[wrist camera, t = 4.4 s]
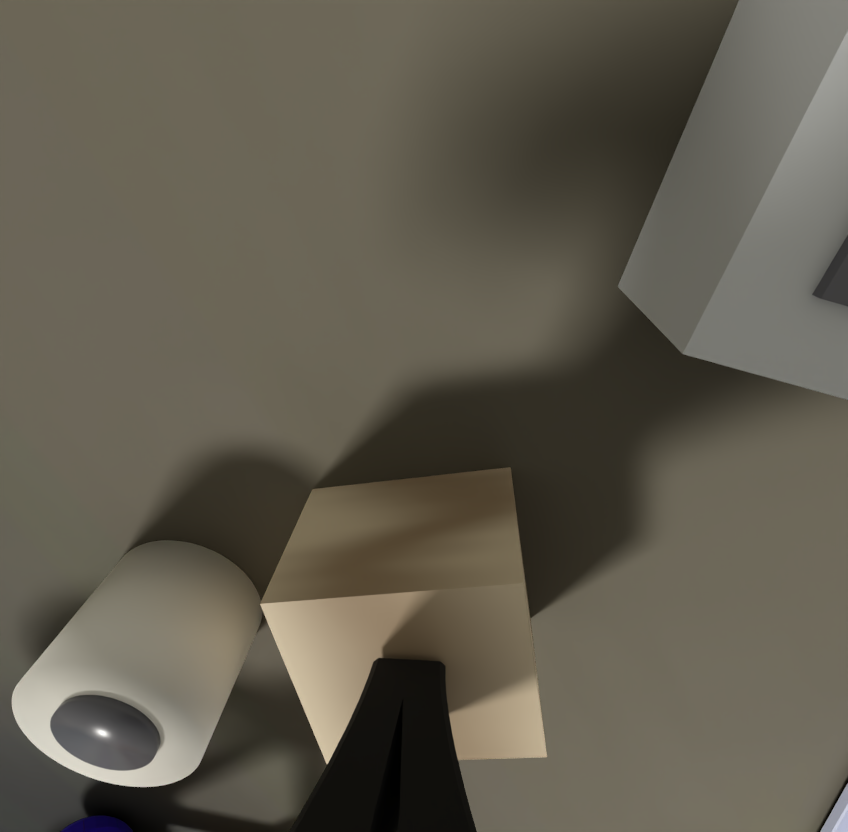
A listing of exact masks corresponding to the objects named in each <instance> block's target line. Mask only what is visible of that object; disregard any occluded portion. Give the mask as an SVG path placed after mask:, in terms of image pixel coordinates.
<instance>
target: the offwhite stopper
mask: <svg viewBox="0 0 848 832" xmlns="http://www.w3.org/2000/svg"><path fill="white" fill-rule="evenodd" d="M260 603H261V600H260V596H259V594H258V592H257V589H256V588H255V586H254V584H253V583H252V581H251V580H250V579H249V578H248V576H247V575H246V574H245V573H244V572H243V571H242V570H241V569H240V568H239V567H238V566H237V565H235V564H234V563H233V562H231V561H230V560H229V559H227V558H225V557H224V556H222V555H221V554H219V553H217V552H215V551H213V550H210V549H208V548H205V547H203V546H200V545H196V544H193V543H188V542H183V541H174V540H161V541H153V542H149V543H145V544H142V545H139V546H137V547H135V548H133V549H132V550H130V551H129V552H127V553H126V554H125V555H124V556H123V557H122V558H121V560H120V561H119V562H118V563H117V564H116V566H115V567H114V568H113V569H112V570H111V572H110V573H109V574H108V575H107V576H106V578H105V579H104V580H103V581H102V582H101V584H100V585H99V586H98V587H97V588H96V590H95V591H94V592H93V593H92V595H91V596H90V597H89V598H88V599H87V601H86V602H85V603H84V604H83V605H82V607H81V608H80V609H79V610H78V611H77V613H76V614H75V615H74V616H73V617H72V619H71V620H70V621H69V622H68V623H67V625H66V626H65V627H64V628H63V629H62V631H61V632H60V633H59V634H58V636H57V637H56V638H55V639H54V640H53V642H52V643H51V644H50V645H49V646H48V648H47V649H46V650H45V651H44V652H43V654H42V655H41V656H40V657H39V658H38V660H37V661H36V662H35V663H34V664H33V666H32V667H31V668H30V669H29V670H28V672H27V673H26V674H25V675H24V676H23V678H22V679H21V680H20V681H19V683H18V684H17V685H16V687H15V689H14V692H13V696H12V709H13V713H14V717H15V719H16V721H17V723H18V725H19V727H20V728H21V730H22V731H23V733H24V734H25V735H26V736H27V738H28V739H29V740H30V741H31V742H32V743H33V744H34V745H35V746H36V747H37V748H39V749H40V750H41V751H42V752H43V753H45V754H46V755H47V756H49V757H50V758H52V759H53V760H55V761H56V762H58V763H60V764H61V765H63V766H65V767H67V768H69V769H71V770H73V771H75V772H77V773H80V774H82V775H85V776H87V777H90V778H93V779H96V780H99V781H103V782H107V783H111V784H116V785H122V786H131V787H155V786H162V785H167V784H171V783H174V782H177V781H179V780H182V779H183V778H185V777H187V776H189V775H190V774H191V773H192V772H193V771H195V769H196V768H197V767H198V766H199V764H200V762H201V760H202V758H203V755H204V753H205V751H206V748H207V746H208V744H209V741H210V739H211V737H212V734H213V732H214V730H215V728H216V725H217V723H218V721H219V718H220V716H221V714H222V711H223V709H224V707H225V704H226V702H227V700H228V698H229V695H230V693H231V691H232V688H233V686H234V684H235V681H236V679H237V677H238V674H239V672H240V670H241V667H242V665H243V663H244V661H245V658H246V656H247V654H248V651H249V649H250V647H251V644H252V642H253V640H254V637H255V635H256V633H257V631H258V628H259V626H260V623H261V619H262V607H261V605H260Z"/></svg>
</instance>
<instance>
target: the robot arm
mask: <svg viewBox="0 0 848 832" xmlns="http://www.w3.org/2000/svg"><path fill="white" fill-rule="evenodd" d="M289 832H477V831H476V828H475V824H474V821H473V818H472V814H471V811H470V807H469V803H468V799H467V796H466V792H465V788H464V784H463V780H462V776H461V771H460V767H459V763H458V758H457V754H456V750H455V745H454V740H453V735H452V729H451V723H450V717H449V711H448V703H447V694H446V666H445V665H444V664H443V663H442V662H441V661H428V660H410V659H392V658H378V659H376V660H375V661H373V664H372V667H371V670H370V673H369V676H368V679H367V681H366V684H365V686H364V689H363V691H362V694H361V696H360V699H359V701H358V703H357V705H356V708H355V710H354V712H353V714H352V716H351V719H350V721H349V723H348V725H347V727H346V729H345V731H344V733H343V735H342V737H341V739H340V741H339V743H338V745H337V747H336V749H335V751H334V753H333V755H332V757H331V759H330V761H329V763H328V765H327V767H326V768H325V770H324V772H323V774H322V776H321V778H320V779H319V781H318V783H317V785H316V786H315V788H314V790H313V792H312V793H311V795H310V797H309V799H308V800H307V802H306V804H305V806H304V807H303V809H302V811H301V812H300V814H299V816H298V818H297V819H296V821H295V823H294V824H293V826H292V828H291V829H290V831H289ZM820 832H848V783H847V785H846V787H845V789H844V790H843V792H842V794H841V796H840V797H839V799H838V801H837V803H836V805H835V806H834V808H833V810H832V812H831V813H830V815H829V817H828V819H827V820H826V822H825V824H824V826H823V828H822V829H821V831H820Z"/></svg>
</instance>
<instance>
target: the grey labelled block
mask: <svg viewBox="0 0 848 832" xmlns="http://www.w3.org/2000/svg"><path fill="white" fill-rule="evenodd" d="M618 287H619V288H620V289H621V291H622V292H623V293H624V294H625V295H626V296H627V297H628V298H629V299H630V300H631V301H632V302H633V303H634V304H635V305H636V306H637V307H638V308H639V309H640V310H641V311H642V312H643V313H644V314H645V315H646V317H647V318H648V319H649V320H650V321H651V322H652V323H653V324H654V325H655V326H656V327H657V328H658V329H659V330H660V331H661V332H662V333H663V334H664V335H665V336H666V337H667V338H668V339H669V340H670V341H671V343H672V344H673V345H674V346H675V347H676V348H677V349H678V350H679V351H680V352H681V353H682V354H684V355H688V356H691V357H695V358H699V359H702V360H706V361H709V362H713V363H717V364H720V365H724V366H728V367H731V368H735V369H738V370H742V371H746V372H749V373H753V374H756V375H760V376H764V377H767V378H771V379H775V380H778V381H782V382H785V383H789V384H793V385H796V386H800V387H803V388H807V389H811V390H814V391H818V392H822V393H825V394H829V395H832V396H836V397H840V398H843V399H847V400H848V0H739V2H738V4H737V6H736V9H735V11H734V14H733V16H732V18H731V21H730V23H729V25H728V28H727V30H726V32H725V35H724V37H723V39H722V42H721V44H720V47H719V49H718V51H717V54H716V56H715V58H714V61H713V63H712V65H711V68H710V70H709V72H708V75H707V77H706V79H705V82H704V84H703V87H702V89H701V91H700V94H699V96H698V98H697V101H696V103H695V105H694V108H693V110H692V112H691V115H690V117H689V120H688V122H687V124H686V127H685V129H684V131H683V134H682V136H681V138H680V141H679V143H678V145H677V148H676V150H675V153H674V155H673V157H672V160H671V162H670V164H669V167H668V169H667V171H666V174H665V176H664V178H663V181H662V183H661V186H660V188H659V190H658V193H657V195H656V197H655V200H654V202H653V204H652V207H651V209H650V211H649V214H648V216H647V219H646V221H645V223H644V226H643V228H642V230H641V233H640V235H639V237H638V240H637V242H636V244H635V247H634V249H633V252H632V254H631V256H630V259H629V261H628V263H627V266H626V268H625V270H624V273H623V275H622V277H621V280H620V282H619V285H618Z"/></svg>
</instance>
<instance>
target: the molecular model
mask: <svg viewBox="0 0 848 832" xmlns="http://www.w3.org/2000/svg"><path fill="white" fill-rule="evenodd" d="M60 832H133V831H132V829H131V828H130V827H129V826H128V825H127V824H126V823H125V822H123V821H121V820H119V819H117V818H114V817H110V816H105V815H99V816H90V817H87V818H83V819H80V820H78V821H76V822H74V823H72V824H70V825H68V826H67V827H66V828H64V829H63V830H62V831H60Z"/></svg>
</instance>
